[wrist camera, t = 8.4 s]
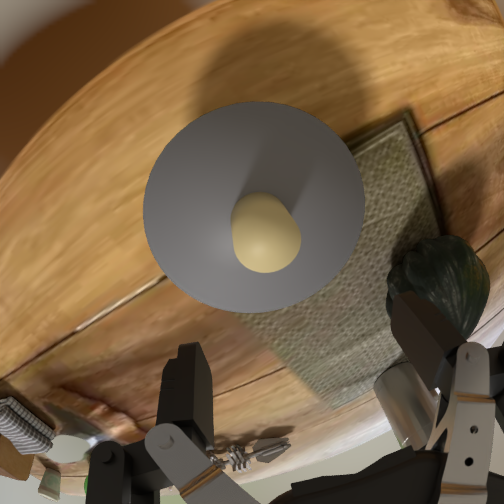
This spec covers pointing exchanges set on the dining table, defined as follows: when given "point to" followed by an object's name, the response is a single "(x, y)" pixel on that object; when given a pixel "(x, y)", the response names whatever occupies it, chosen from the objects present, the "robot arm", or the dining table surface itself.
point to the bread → (14, 461)
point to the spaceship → (251, 454)
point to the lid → (253, 207)
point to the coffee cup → (50, 485)
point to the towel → (24, 428)
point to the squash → (444, 280)
